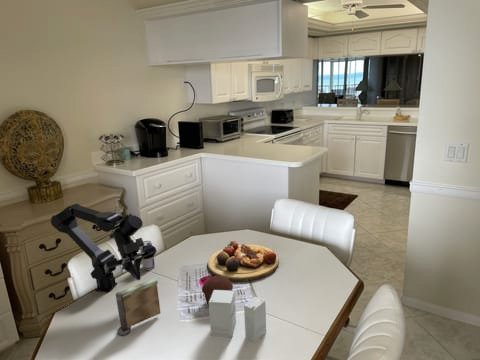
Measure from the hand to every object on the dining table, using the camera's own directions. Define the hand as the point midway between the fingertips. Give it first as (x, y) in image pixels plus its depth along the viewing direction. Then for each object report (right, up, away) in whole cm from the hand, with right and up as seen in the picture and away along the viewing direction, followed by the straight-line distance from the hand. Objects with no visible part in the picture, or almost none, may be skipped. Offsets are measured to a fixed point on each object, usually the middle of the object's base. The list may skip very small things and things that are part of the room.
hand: (139, 279), depth 130 cm
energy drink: (-5, -3, +32) cm, 33 cm away
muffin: (+29, -10, +4) cm, 30 cm away
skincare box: (+42, -14, -14) cm, 46 cm away
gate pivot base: (-2, -15, -10) cm, 18 cm away
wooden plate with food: (+38, -2, +32) cm, 50 cm away
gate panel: (+3, -12, -6) cm, 14 cm away
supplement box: (+31, -14, -11) cm, 36 cm away
